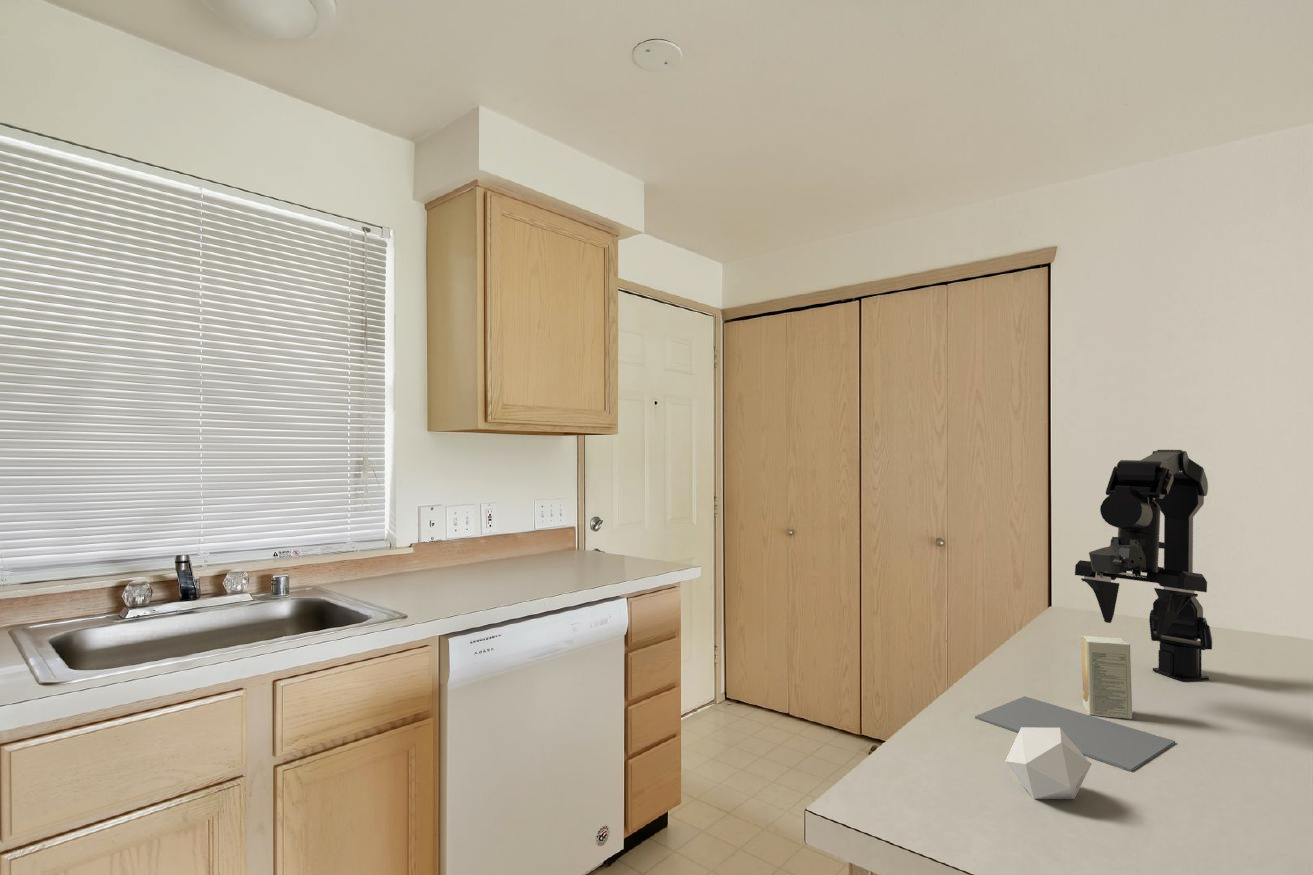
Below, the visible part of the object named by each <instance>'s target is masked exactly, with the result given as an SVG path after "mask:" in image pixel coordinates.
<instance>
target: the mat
mask: <svg viewBox="0 0 1313 875" xmlns="http://www.w3.org/2000/svg"><path fill="white" fill-rule="evenodd" d="M974 719H976V720H979V721H983V722H985V723H989V724H991V725H994V726H998V727H1001V728H1003V729H1006V730H1009V731H1012V732H1015V733H1019V731H1020V729H1021V727H1034V728H1061V729H1062V731H1063V732H1064V733H1065V734H1066V735H1067V736H1068V738H1069V739H1070V740H1071V741H1072V742H1073V743H1074V745H1075V746H1076V747H1077V748H1078V749H1079V750H1080V752H1081V753H1082V754H1083V755H1084V756H1085V757H1088V758H1091V759H1094V760H1096V761H1099V762H1102V763H1105V764H1108V765H1111V766H1113V767H1116V768H1120V769H1122V770H1125V771H1128V772H1133V771H1134V770H1136V769H1137V768H1139V767H1140V766H1142V765H1143V764H1145V763H1147V762H1148V761H1149V760H1151V759H1153V758H1155V757H1156V756H1158V755H1159V754H1161V753H1162V752H1164V751H1165V750H1167V749H1168V748H1170V747H1171V746H1173V745H1174V744H1176V740H1174V739H1169V738H1166V737H1162V736H1160V735H1156V734H1153V733H1149V732H1147V731H1144V730H1143V731H1142V730H1140V729H1136V728H1133V727H1130V726H1126V725H1122V724H1119V723H1116V722H1112V721H1109V720H1105V719H1103V718H1100V717H1095V716H1094V715H1090V714H1086V713H1083V712H1078V711H1076V710H1072V709H1069V708H1065V707H1061V706H1059V705H1055V704H1053V703H1049V702H1046V701H1043V700H1039V699H1035V698H1032V697H1029V696H1022V697H1019V698H1017V699H1014V700H1011V701H1010V702H1006V703H1003V704H1001V705H1000V706H997V707H994V708H992V709H989V710H986V711H985V712H982V713H979V714H977V715H975V716H974Z"/></svg>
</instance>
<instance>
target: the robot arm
mask: <svg viewBox="0 0 1313 875" xmlns="http://www.w3.org/2000/svg"><path fill="white" fill-rule="evenodd" d="M1208 482H1209V481H1208V479H1207V475H1206V472H1205V468H1204V467H1203V466H1201V465H1199V464H1198V463H1197V462H1195V461H1193V460H1192V459H1191V458H1189V456H1188V452H1187V451H1186V450H1183V449H1157V450H1153V451H1152V452H1151V454H1149V455H1148V456H1146V457H1144V458H1143V459H1142V458H1141V459H1140V460H1136V459H1135V460H1134V459H1133V460H1132V459H1131V460H1128V459H1121V460H1119V461H1118V462H1117V464H1116V466H1113V469H1112V471H1111V475H1110V477H1109V481H1108V484H1107V487H1106V490H1105V495H1106V498H1104V500H1103V501H1102V502H1101V505H1100V507H1099V508H1100V510H1099V512H1100V515H1101V517H1102V519H1103V521H1104V522H1105V523H1107V524H1108V525H1110V526H1112V527H1113V528H1114V527H1115V528H1117V536H1112V537H1111V539H1110V543H1109V546H1104V547H1100V548H1097V549H1095V550H1091V551H1089V552H1088V555H1089V559H1090V561H1089V560H1082V559H1081V560H1078V562H1077V563H1076V564H1075V565H1074V575H1075V576H1079V577H1081V578H1080V580H1081V581H1082V582H1085V583H1086V584H1087V585H1088V586H1089V587H1090V588H1091V590H1092V591H1093V593H1094V596H1095V597H1096V600H1097V602H1098V606H1099V609H1100V612H1101V615H1102V618H1103V621H1104V623H1108V624H1111V623H1112V622H1113V618H1114V615H1115V609H1116V605H1117V599H1118V593H1119V589H1120V582H1119V583H1118V582H1113V581H1116V579H1120V580H1121V579H1122V580H1130V581H1139V582H1147V583H1153V584H1158V585H1159V586H1160V587H1162V588H1157V587H1154V588H1153V589H1154V592H1155V593H1156V596H1157V598H1156V599H1155V600H1154V601H1153V603H1152V609H1151V610H1150V613H1149V616H1148V618H1149V621H1148V622H1149V630H1150V640H1151V642H1158V643H1159V649H1158V652H1157V654H1158V657H1157V658H1158V667H1152V671H1153V672H1156V673H1159V674H1162V675H1163V676H1167V677H1169V678H1172V679H1174V680H1175V679H1176V680H1178V681H1181V682H1187V681H1188V682H1189V681H1205V680H1210V676H1209V675H1206V674H1202V651H1206V650H1213V637H1212V636H1213V635H1212V632H1211V627H1210V625H1209V624H1208V621H1207V618H1206V617H1204V608H1203V606H1202V604H1201V603H1200V601H1199V600H1198V599H1197V598H1198V595H1199V594H1198V593H1195V592H1201V593H1208V581H1207V579H1206V577H1204V574H1203V573H1198V572H1197V573H1196V572H1194V571H1193V570H1194V567H1193V565H1194V560H1193V559H1194V555H1193V554H1194V544H1193V543H1194V539H1193V538H1194V517H1195V515H1196V514H1197V513H1198V512H1199V511H1200V509H1201V508H1202V507H1203V506H1204V502H1205V497H1207V495H1208V492H1209V483H1208ZM1161 514H1162V515H1163V516H1164V517H1163V518H1164V520H1163V521H1164V524H1163V528H1164V529H1163V532H1164V534H1163V536H1164V537H1163V542H1162V541H1160V533H1161V532H1160V529H1161V528H1160V527H1161V526H1160V525H1161ZM1160 549H1162V550H1163V566H1159V555H1160V554H1159V551H1160ZM1129 572H1131V573H1129ZM1142 573H1143V574H1144V575H1143V574H1142ZM1145 574H1146V575H1145ZM1082 577H1083V578H1082Z"/></svg>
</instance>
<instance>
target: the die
mask: <svg viewBox="0 0 1313 875" xmlns="http://www.w3.org/2000/svg"><path fill="white" fill-rule="evenodd" d="M1086 757H1087V756H1084V755H1083V754H1082V753H1081V752H1080V750H1079V749H1078V748H1077V747H1076V746H1075V745H1074V743H1073V742H1072V741H1071V740H1070V739H1069V738H1068V736H1067V735H1066V734H1065V733H1064V732H1063V731H1062V729H1061V728H1034V727H1021V729H1020V731H1019V733H1018V734H1017V735H1016V736H1015V739H1014V741H1013V744H1012V746H1011V748H1010V750H1009V752H1008V754H1007V757H1006V759H1005V760H1004V761H1005V763H1006V764H1007V766H1008V767H1009V768H1010V770H1011V771H1012V772H1013V774H1014V775H1015V777H1017V779H1018V781H1020V783H1022V785H1023V787H1024V788H1025V789H1026V791H1027V792H1028V794H1030V796H1031V797H1032V798H1033V800H1075V798H1076V797H1077V795H1078V792H1079V791H1080V788H1081V786H1082V784H1083V783H1084V781H1085V779H1086V776H1087V774H1088V771H1089V770H1090V768H1091V766H1092V763H1091V762H1090V760H1088V758H1086Z"/></svg>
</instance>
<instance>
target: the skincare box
mask: <svg viewBox="0 0 1313 875" xmlns="http://www.w3.org/2000/svg"><path fill="white" fill-rule="evenodd" d="M1131 665H1132V662H1131V644H1130V643H1129V642H1128V641H1126V639H1124V638H1122V637H1112V636H1097V635H1095V636H1094V635H1081V666H1082V667H1081V669H1082V676H1081V677H1082V707H1083V708H1084V709H1085V710H1086V712H1087V713H1088V715H1090V716H1099V717H1106V718H1107V717H1108V718H1118V719H1130V720H1133V699H1132V698H1133V697H1132V696H1133V693H1132V666H1131Z"/></svg>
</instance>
